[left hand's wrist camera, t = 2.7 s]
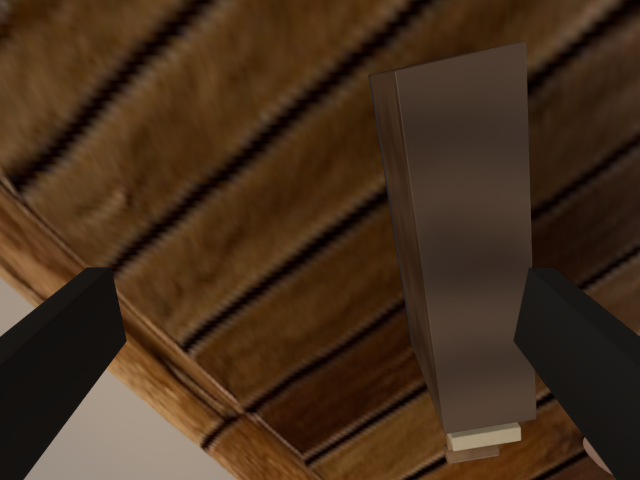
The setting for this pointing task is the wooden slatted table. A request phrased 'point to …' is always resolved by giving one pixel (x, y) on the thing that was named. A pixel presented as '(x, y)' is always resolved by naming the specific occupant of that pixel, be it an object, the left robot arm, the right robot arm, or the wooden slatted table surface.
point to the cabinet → (462, 226)
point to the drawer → (479, 442)
